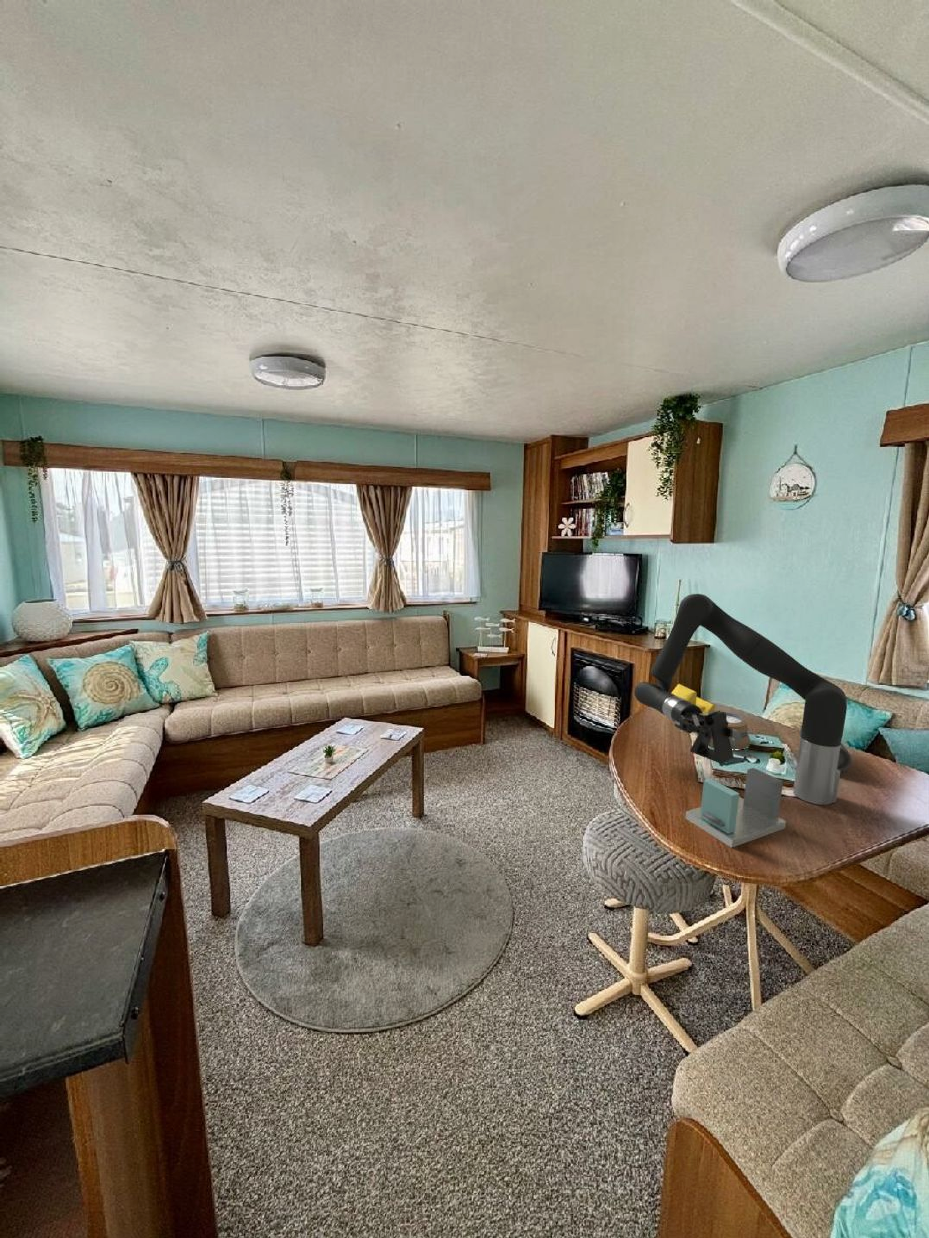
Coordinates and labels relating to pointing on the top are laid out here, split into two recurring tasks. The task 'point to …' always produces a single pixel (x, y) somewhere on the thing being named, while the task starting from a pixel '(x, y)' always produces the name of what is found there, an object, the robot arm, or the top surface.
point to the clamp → (693, 698)
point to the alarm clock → (736, 731)
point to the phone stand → (714, 739)
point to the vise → (750, 811)
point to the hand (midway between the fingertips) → (720, 734)
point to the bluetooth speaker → (842, 758)
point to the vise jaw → (719, 805)
